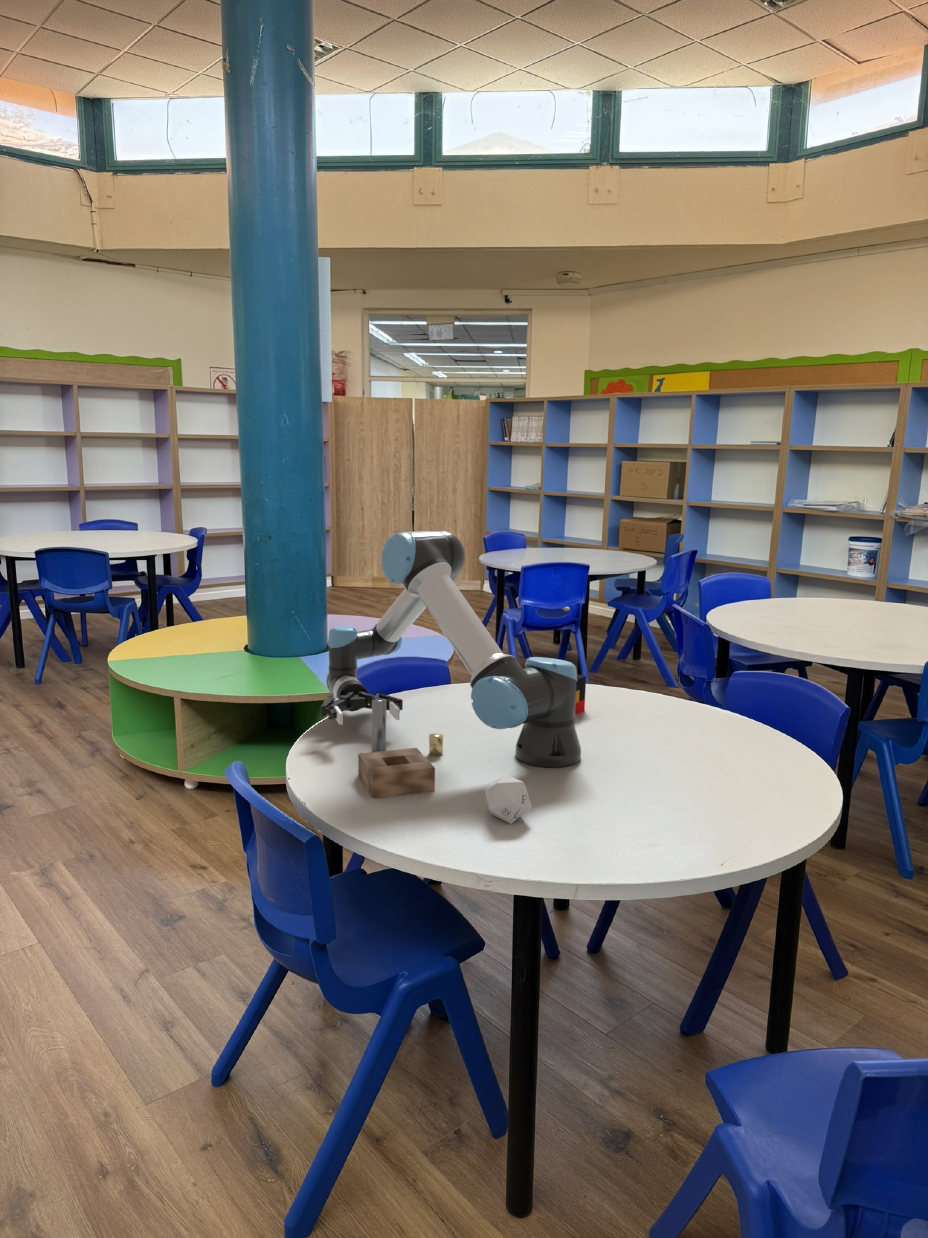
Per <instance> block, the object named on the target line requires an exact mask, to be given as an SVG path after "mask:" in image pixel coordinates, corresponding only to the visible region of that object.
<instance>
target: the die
mask: <svg viewBox="0 0 928 1238" xmlns="http://www.w3.org/2000/svg"><path fill="white" fill-rule="evenodd" d="M484 794H485V798H486V801H487V802H486V803H487V805H488V809H489V811H490V813H491V815H492V816H493V817H496V818H498V819H499V820H501V821H504V822H506V823H508V824H510V825H512V824H513V823H514V822H515V821H517V820H518V819H519V818H520V817H522V816H523V815H524V814H525V813H527V812H528V811H529V810H530V809H531V808H533V807H532V803H531V800H530V797H529V793H528V791H527V787H526V785H525V782H524V781H523V780H520V779H518V778H516V777H513V776H510V775H508V774H506V773H504V774H502V776H501V777H500V778H498V779H497V780H496V781H494V783H492V784H491V785H489V786H488V787H487V788H485V790H484Z"/></svg>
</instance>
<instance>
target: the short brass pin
mask: <svg viewBox="0 0 928 1238" xmlns="http://www.w3.org/2000/svg"><path fill="white" fill-rule="evenodd" d="M443 751H444V734H442V733H438V732H436V733H435V732H433V733H429V735H428V755H430V756H432V757H440V756H442V755H444V752H443Z"/></svg>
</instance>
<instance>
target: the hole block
mask: <svg viewBox="0 0 928 1238" xmlns="http://www.w3.org/2000/svg"><path fill="white" fill-rule="evenodd" d="M357 755H358V757H357V758H358V767H357V768H358V777H359V779H360V781H361V782H362V783H363V785H364V787H365V788H366V790H367V791H368V793H369V794H370V796H371V797H372V799H379V798H387V797H396V796H403V795H404V796H405V795H413V794H421V793H429V792H435V786H436V785H435V784H436V767H435V766H434V765H433V764H432V762H430V761H429V759H428V758H426V756H425V755H424V754H423V753H422V752H421V750H419V749H418V748H417V747H411V748H410V747H409V748H403V749H402V748H401V749H391V750H386V751H380V752H372V751H371V752H363V753H362V752H360V753H358V754H357Z"/></svg>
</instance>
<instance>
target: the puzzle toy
mask: <svg viewBox="0 0 928 1238" xmlns="http://www.w3.org/2000/svg"><path fill="white" fill-rule="evenodd" d="M586 681H587V675H583V674H577V682H576V703H575V716H576V715H578V714H581V713H582V712H584V711H585V709H586V708H585V707H586V687H587V686H586V684H587V682H586Z"/></svg>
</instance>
